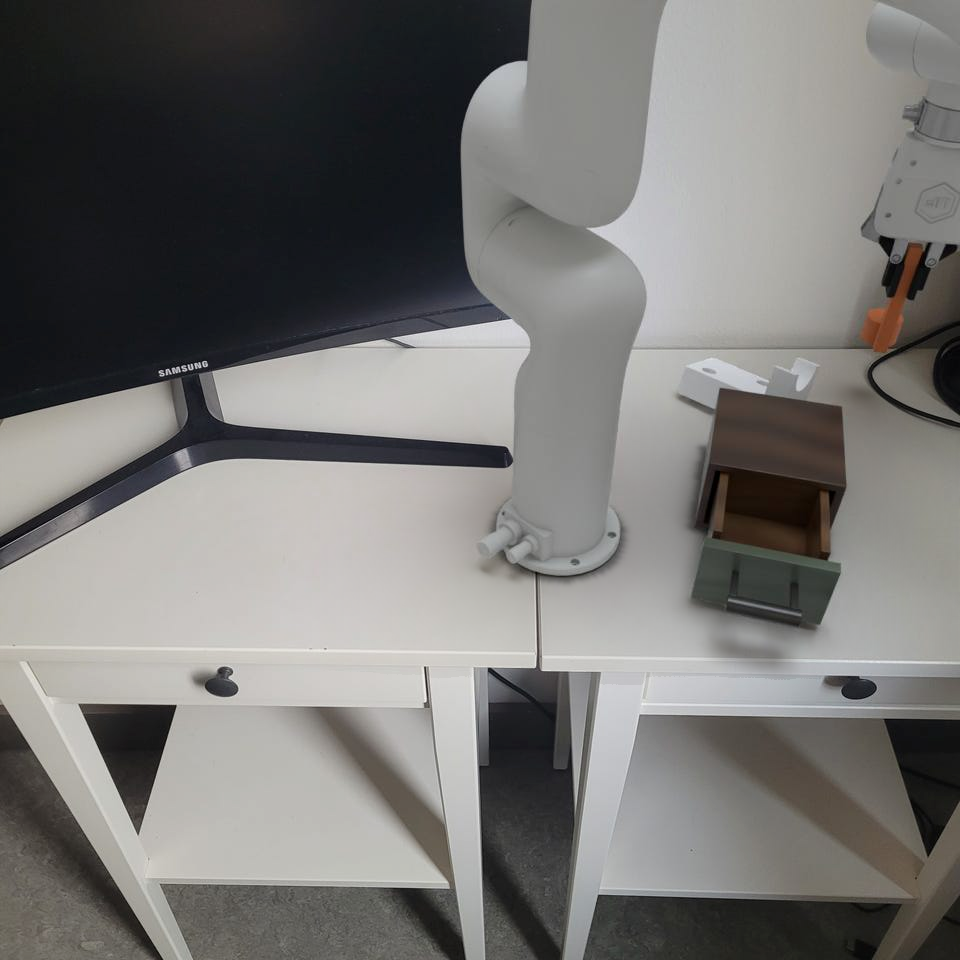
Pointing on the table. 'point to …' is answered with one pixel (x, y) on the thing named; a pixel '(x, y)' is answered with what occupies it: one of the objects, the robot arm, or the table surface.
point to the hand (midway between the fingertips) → (899, 292)
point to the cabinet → (774, 445)
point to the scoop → (891, 307)
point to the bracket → (745, 380)
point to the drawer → (768, 551)
